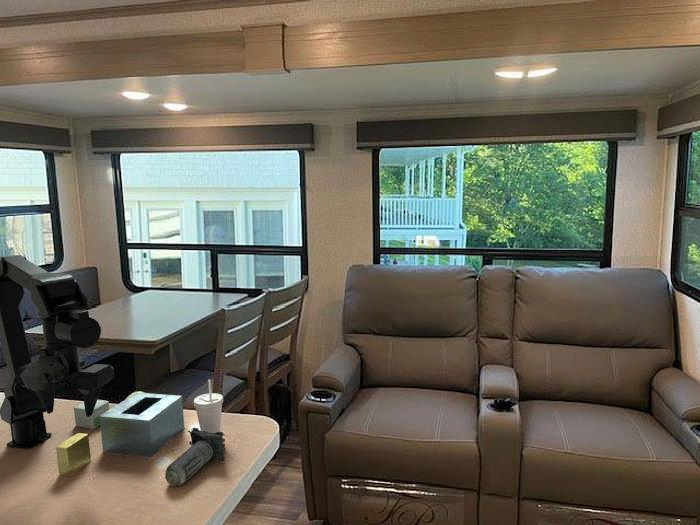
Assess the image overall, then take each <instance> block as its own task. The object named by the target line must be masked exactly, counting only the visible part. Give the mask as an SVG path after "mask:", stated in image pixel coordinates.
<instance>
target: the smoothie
mask: <svg viewBox="0 0 700 525" xmlns="http://www.w3.org/2000/svg"><path fill="white" fill-rule="evenodd" d="M207 387H208V393H204V394H200V395H198V396H195V398H194V399H193V406H194V408H195V410H196V416H197V421H198V425H199V431H201V432H203V431H205V432H208V433H216V432H221V426H222V425H221V421H222V411H223V410H222V409H223V408H222V406H223V403H224V397H223V394H220V393H214V392H212V382H211V379H208V380H207Z"/></svg>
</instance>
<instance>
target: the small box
mask: <svg viewBox="0 0 700 525" xmlns="http://www.w3.org/2000/svg"><path fill="white" fill-rule="evenodd" d="M109 402H110V401H108V400H102V399H98V400H97V402H96V405H95V408H94V410H93V413H92V415H91V416H89V417H87V416H86V412H85V407H84V402H82V403H80V404H79V405H77V406H75V407H73V412H74V420H75V421H74V422H75V427H81V428H85V429H92V430H93V429H95V428H97V427H99V426H100V418H99V416H100V415H102V414H104V413H105V412H107V411H108V410H110V403H109Z"/></svg>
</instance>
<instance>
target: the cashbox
mask: <svg viewBox="0 0 700 525" xmlns="http://www.w3.org/2000/svg"><path fill="white" fill-rule="evenodd" d="M184 416H185V415H184V406H183V395H176V394H175V395H174V394H160V393H147V392H144V393H135V394H134V395H132V396H130V397H129V398H127V397H126V398H125V399H124V400H123V401H121V402H120V403H118V404H116V405H114V406H113V407H111V408H109V410H108V411H107V412H105V413H104V414H102V415H100V416H99V418H100V425H99V426H100V427H99V428H100V434H101V435H100V436H101V443H102V444H101V445H102V452H108V453H109V452H110V453H117V452H118V453H119V454H127V455H139V456H148V457H153V456H155V454H157V453H158V452H159V451H161V449H162V448H163V447H165V446H166V445H167V444H168V443H170V441H171V440H173V439H174V438H175V437H176V436H177V435H178V434H180V433H181V432H182V431H183V430H184V429H185V420H184V419H185V417H184Z"/></svg>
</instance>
